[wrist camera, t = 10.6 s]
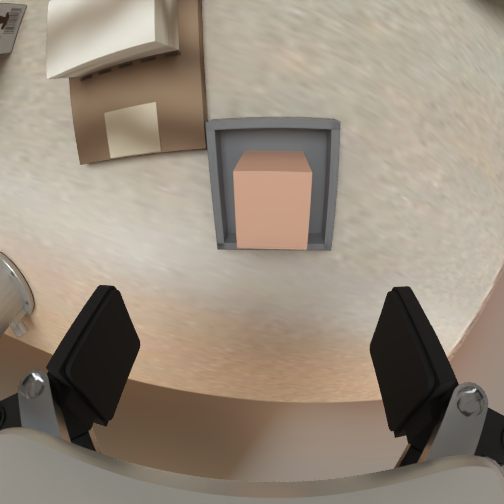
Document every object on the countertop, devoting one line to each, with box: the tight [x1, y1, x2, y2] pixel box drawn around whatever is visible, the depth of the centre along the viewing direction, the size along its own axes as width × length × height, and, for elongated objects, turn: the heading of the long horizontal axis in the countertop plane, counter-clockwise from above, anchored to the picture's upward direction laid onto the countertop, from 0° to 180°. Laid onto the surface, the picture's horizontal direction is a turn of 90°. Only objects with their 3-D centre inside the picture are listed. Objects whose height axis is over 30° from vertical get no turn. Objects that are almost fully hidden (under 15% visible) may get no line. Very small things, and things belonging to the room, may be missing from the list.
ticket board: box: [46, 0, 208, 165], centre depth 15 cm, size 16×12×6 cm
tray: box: [205, 117, 340, 251], centre depth 21 cm, size 10×9×2 cm
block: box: [233, 151, 312, 250], centre depth 19 cm, size 5×4×6 cm
